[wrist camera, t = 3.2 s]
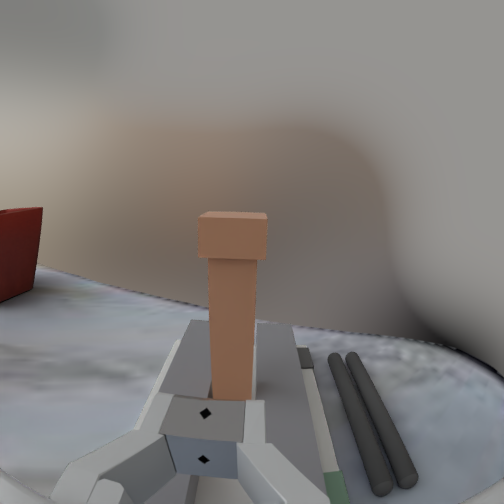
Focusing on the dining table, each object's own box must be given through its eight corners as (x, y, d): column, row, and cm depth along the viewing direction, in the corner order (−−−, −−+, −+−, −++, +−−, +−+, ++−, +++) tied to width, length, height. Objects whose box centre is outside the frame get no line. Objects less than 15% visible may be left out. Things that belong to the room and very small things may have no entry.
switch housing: (104, 511, 11) (83, 485, 10) (176, 346, 34) (174, 318, 33) (348, 530, 10) (368, 508, 10) (305, 352, 34) (309, 324, 33)
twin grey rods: (371, 501, 13) (379, 491, 12) (325, 361, 32) (327, 350, 31) (415, 488, 13) (424, 478, 12) (354, 359, 32) (357, 349, 31)
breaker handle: (207, 423, 20) (198, 217, 16) (212, 396, 24) (208, 211, 20) (256, 426, 20) (267, 219, 16) (256, 398, 24) (265, 213, 20)
